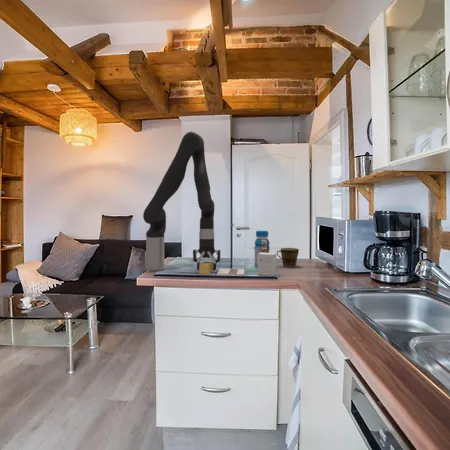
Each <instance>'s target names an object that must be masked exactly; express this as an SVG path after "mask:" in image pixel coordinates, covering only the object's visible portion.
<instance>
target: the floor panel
mask: <svg viewBox="0 0 450 450" xmlns="http://www.w3.org/2000/svg"><path fill="white" fill-rule="evenodd" d="M245 271H246V270H245V269H243V268H242V269H241V268H219V270H218V271H217V272H216V275H217V276H233V277H235V276H240V277H241V276H242V277H244V276H245Z"/></svg>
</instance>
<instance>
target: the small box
mask: <svg viewBox="0 0 450 450" xmlns="http://www.w3.org/2000/svg"><path fill="white" fill-rule="evenodd" d="M257 264H258V268H257V275H258V276H263V277H264V276H265V277H274V276H276V275H277V252H269V253H263V252H261V253H258V254H257Z"/></svg>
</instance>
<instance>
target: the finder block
mask: <svg viewBox="0 0 450 450" xmlns="http://www.w3.org/2000/svg"><path fill="white" fill-rule="evenodd" d="M213 263H214V262H213V261H212V260H211V261H208V260H205V261H202V262H200V264H199V270H198V271H199V272H198V273H199V275H210V274H211V273H214V271H213Z"/></svg>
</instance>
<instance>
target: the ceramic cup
mask: <svg viewBox="0 0 450 450" xmlns="http://www.w3.org/2000/svg"><path fill="white" fill-rule="evenodd" d="M299 251H300V249H299V248H297V247H296V248H295V247H281V248H280V250H277V251H276V256H278V257H279V258H280V260H282V267H283V268H286V269H287V268H289V269H290V268H291V269H292V268H296V266H297V263H298V262H297V260H298V255H299ZM279 252H280V255H279V254H278V253H279Z"/></svg>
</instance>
